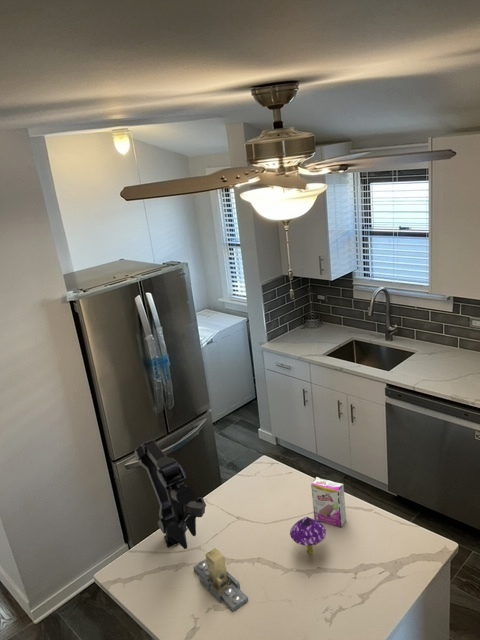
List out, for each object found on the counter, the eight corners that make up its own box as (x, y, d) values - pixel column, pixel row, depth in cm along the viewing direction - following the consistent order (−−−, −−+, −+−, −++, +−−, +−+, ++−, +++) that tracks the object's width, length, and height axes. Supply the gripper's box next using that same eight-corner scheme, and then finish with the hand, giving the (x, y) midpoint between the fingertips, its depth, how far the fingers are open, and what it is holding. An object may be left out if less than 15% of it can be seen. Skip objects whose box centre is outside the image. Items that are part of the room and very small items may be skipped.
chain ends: (191, 572, 180) (190, 566, 179) (210, 560, 184) (209, 554, 184) (230, 613, 162) (229, 607, 161) (251, 599, 166) (250, 592, 165)
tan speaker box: (210, 584, 174) (205, 554, 170) (220, 578, 176) (215, 547, 172) (219, 593, 170) (213, 562, 166) (229, 586, 172) (224, 555, 168)
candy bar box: (313, 520, 197) (310, 483, 193) (319, 512, 201) (315, 476, 196) (341, 528, 191) (338, 490, 186) (346, 520, 195) (343, 483, 190)
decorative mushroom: (311, 535, 190) (307, 500, 185) (335, 553, 180) (332, 517, 175) (285, 553, 183) (280, 517, 179) (309, 572, 173) (305, 535, 169)
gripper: (190, 504, 167) (203, 551, 167) (206, 483, 185) (219, 525, 185) (159, 511, 170) (172, 557, 170) (178, 489, 188) (190, 531, 188)
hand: (190, 542), depth 178 cm, fingers open, 9 cm apart
